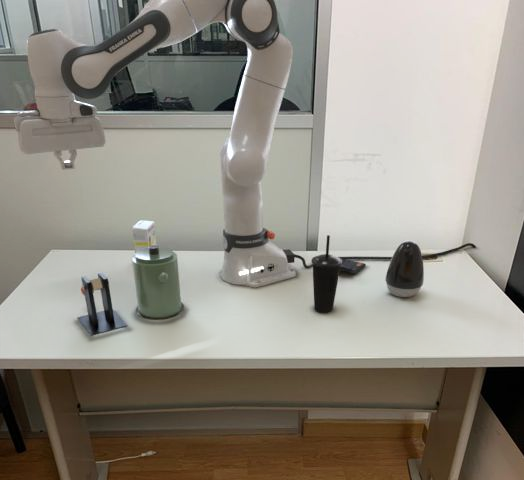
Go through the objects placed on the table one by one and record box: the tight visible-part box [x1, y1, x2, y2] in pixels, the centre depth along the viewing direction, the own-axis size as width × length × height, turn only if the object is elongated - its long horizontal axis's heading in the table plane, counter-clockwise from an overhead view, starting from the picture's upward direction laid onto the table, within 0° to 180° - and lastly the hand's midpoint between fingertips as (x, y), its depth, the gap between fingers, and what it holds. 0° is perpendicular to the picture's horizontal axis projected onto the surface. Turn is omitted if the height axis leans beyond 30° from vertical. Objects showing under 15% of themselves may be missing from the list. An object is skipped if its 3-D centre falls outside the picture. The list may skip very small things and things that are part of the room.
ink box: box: [131, 219, 157, 254], centre depth 167 cm, size 9×5×12 cm, turn 174°
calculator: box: [339, 258, 366, 275], centre depth 162 cm, size 9×12×3 cm
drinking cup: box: [310, 234, 342, 314], centre depth 135 cm, size 8×8×20 cm
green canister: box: [131, 244, 185, 321], centre depth 133 cm, size 18×12×18 cm
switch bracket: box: [76, 272, 128, 337], centre depth 129 cm, size 11×9×13 cm
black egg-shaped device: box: [384, 240, 425, 298], centre depth 144 cm, size 10×10×15 cm
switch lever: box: [80, 277, 103, 297], centre depth 131 cm, size 13×3×3 cm, turn 33°
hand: (68, 168), depth 133 cm, fingers closed
